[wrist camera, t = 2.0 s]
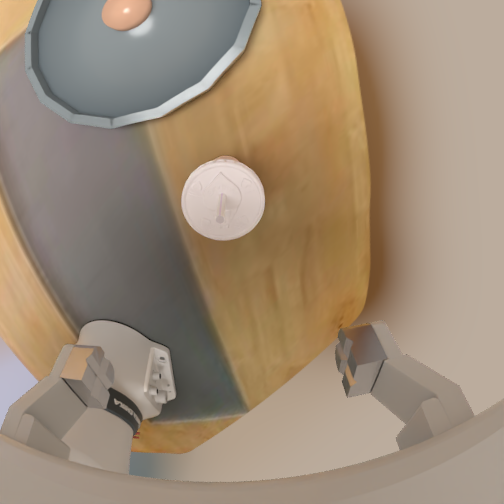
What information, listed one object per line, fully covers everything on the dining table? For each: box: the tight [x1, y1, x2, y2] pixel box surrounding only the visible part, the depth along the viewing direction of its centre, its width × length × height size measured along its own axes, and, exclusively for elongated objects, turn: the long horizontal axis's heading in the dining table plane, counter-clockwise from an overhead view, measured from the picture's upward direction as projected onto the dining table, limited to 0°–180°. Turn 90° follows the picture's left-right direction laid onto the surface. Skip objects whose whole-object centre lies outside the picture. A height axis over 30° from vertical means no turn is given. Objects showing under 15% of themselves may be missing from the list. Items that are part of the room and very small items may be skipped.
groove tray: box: [25, 0, 261, 129], centre depth 18 cm, size 26×26×2 cm
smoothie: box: [181, 156, 265, 240], centre depth 23 cm, size 6×6×14 cm
